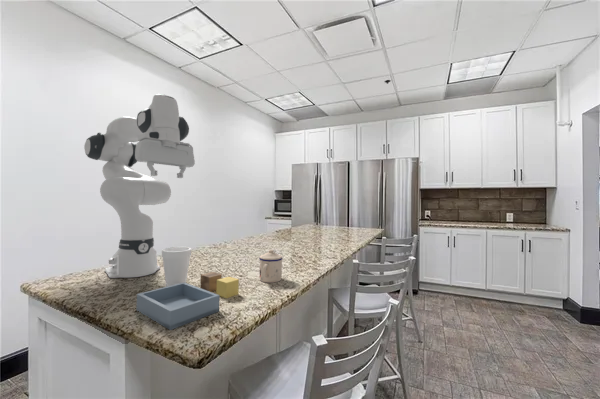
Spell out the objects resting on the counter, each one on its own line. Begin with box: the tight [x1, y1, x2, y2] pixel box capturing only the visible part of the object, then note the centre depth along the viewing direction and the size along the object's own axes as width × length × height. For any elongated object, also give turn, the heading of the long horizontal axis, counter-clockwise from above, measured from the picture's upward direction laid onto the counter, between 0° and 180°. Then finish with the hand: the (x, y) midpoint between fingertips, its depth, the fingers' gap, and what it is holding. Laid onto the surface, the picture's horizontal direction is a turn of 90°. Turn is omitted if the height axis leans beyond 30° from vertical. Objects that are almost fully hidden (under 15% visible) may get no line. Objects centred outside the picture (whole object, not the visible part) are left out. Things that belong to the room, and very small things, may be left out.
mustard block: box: [215, 276, 240, 299], centre depth 89 cm, size 5×5×5 cm
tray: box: [136, 282, 221, 331], centre depth 75 cm, size 18×14×4 cm
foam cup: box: [161, 246, 192, 287], centre depth 96 cm, size 10×9×13 cm
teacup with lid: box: [258, 249, 283, 284], centre depth 105 cm, size 12×9×12 cm
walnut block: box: [199, 271, 223, 292], centre depth 94 cm, size 5×5×5 cm
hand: (167, 176), depth 97 cm, fingers open, 8 cm apart
